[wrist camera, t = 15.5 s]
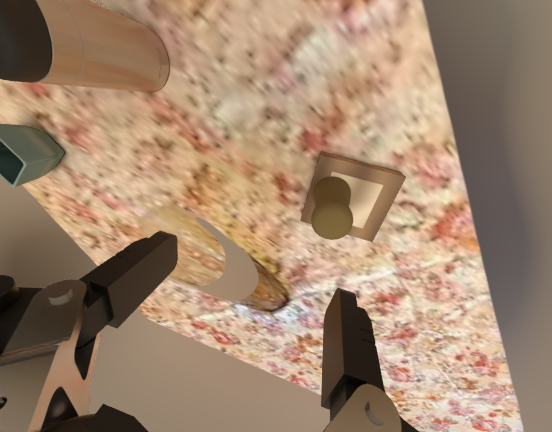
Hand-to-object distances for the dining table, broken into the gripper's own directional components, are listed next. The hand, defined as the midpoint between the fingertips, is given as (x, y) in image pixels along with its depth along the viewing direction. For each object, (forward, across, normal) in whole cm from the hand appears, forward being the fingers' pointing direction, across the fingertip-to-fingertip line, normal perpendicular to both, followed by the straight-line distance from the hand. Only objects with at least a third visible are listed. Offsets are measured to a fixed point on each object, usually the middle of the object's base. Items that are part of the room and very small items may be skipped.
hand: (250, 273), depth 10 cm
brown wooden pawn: (+27, -6, +5) cm, 28 cm away
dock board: (+30, -8, +5) cm, 32 cm away
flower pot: (+30, +55, +13) cm, 64 cm away
